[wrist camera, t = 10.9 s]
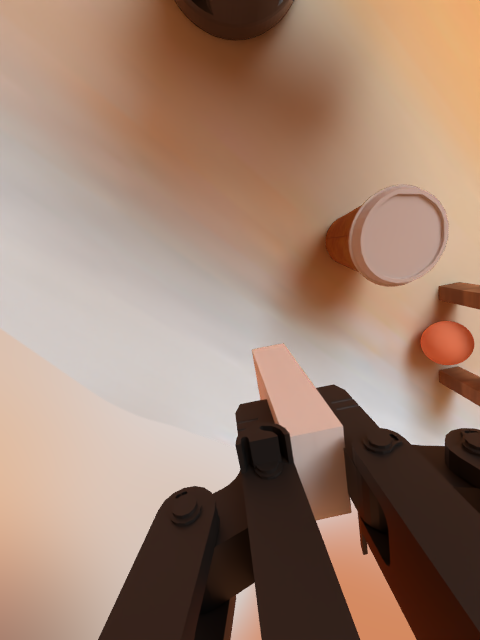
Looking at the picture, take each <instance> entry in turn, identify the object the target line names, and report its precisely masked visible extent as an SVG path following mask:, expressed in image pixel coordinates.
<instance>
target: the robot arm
mask: <svg viewBox="0 0 480 640" xmlns="http://www.w3.org/2000/svg"><path fill="white" fill-rule="evenodd" d="M175 1H176V3H177V4H178V6H179V7H180V9H181V10H182V11H183V12H184V14H185V15H186V16H187V17H188V18H189V19H190V20H191V21H192V22H193V23H194V24H196V25H197V26H198V27H200V28H201V29H203V30H204V31H206V32H208V33H210V34H212V35H214V36H217V37H220V38H224V39H230V40H243V39H249V38H252V37H256V36H258V35H260V34H262V33H264V32H266V31H268V30H269V29H271V28H272V27H273V26H274V25H275V24H277V23H278V22H279V21H280V20H281V19H282V17H283V16H284V15H285V14H286V12H287V11H288V9H289V8H290V6H291V4H292V2H293V1H294V0H175ZM252 353H253V359H254V364H255V370H256V376H257V382H258V388H259V393H260V399H261V400H259V401H254V402H249V403H244V404H240V405H239V407H238V409H237V411H236V413H235V414H236V422H237V430H238V437H237V440H236V450H237V454H238V459H239V464H240V472H239V474H238V476H237V477H236V479H235V480H234V481H233V482H231V483H230V484H229V485H228V486H226V487H225V488H223V489H222V490H219V491H218V492H215V493H213V494H212V493H211V492H210V491H208V490H207V489H205V488H203V487H197V486H193V487H187V488H183V489H181V490H179V491H177V492H175V493H173V494H172V495H171V496H170V497H169V498H168V499H166V500H165V501H164V503H163V504H162V506H161V507H160V509H159V510H158V512H157V514H156V516H155V519H154V521H153V523H152V525H151V527H150V529H149V532H148V534H147V536H146V538H145V541H144V543H143V544H142V547H141V549H140V551H139V553H138V555H137V557H136V559H135V562H134V564H133V566H132V568H131V570H130V572H129V574H128V577H127V579H126V581H125V583H124V585H123V588H122V589H121V592H120V594H119V596H118V598H117V600H116V603H115V605H114V607H113V609H112V611H111V613H110V615H109V617H108V620H107V622H106V624H105V626H104V628H103V630H102V633H101V635H100V637H99V639H98V640H230V638H231V631H232V624H233V616H234V608H235V602H236V594H238V593H239V592H241V591H242V590H244V589H245V588H247V587H248V586H250V585H251V584H253V583H254V582H255V588H256V596H257V605H258V612H259V621H260V628H261V637H262V640H360V638H359V635H358V632H357V630H356V627H355V624H354V622H353V619H352V617H351V614H350V611H349V608H348V606H347V603H346V600H345V598H344V595H343V593H342V590H341V587H340V584H339V582H338V579H337V576H336V574H335V571H334V568H333V566H332V563H331V560H330V558H329V555H328V552H327V550H326V547H325V544H324V541H323V539H322V536H321V533H320V531H319V528H318V526H317V523H316V520H320V519H324V518H329V517H334V516H338V515H342V514H348V513H351V504H350V498H351V500H352V501H353V503H354V505H355V507H356V509H357V511H358V519H359V529H360V541H361V548H362V551H363V554H364V555H365V554H368V552H367V544H368V545H369V547H370V549H371V551H372V553H373V555H374V557H375V559H376V561H377V563H378V565H379V567H380V569H381V571H382V573H383V575H384V577H385V579H386V581H387V583H388V584H389V586H390V588H391V590H392V592H393V594H394V596H395V598H396V600H397V602H398V604H399V606H400V607H401V610H402V612H403V614H404V615H405V618H406V619H407V621H408V623H409V625H410V627H411V629H412V631H413V633H414V635H415V637H416V639H417V640H480V430H478V429H468V428H461V429H457V430H453V431H451V432H449V433H448V434H447V435H446V438H445V446H420V445H411V444H410V443H409V442H408V441H407V440H406V439H405V438H404V437H402V436H401V435H399V434H398V433H396V432H393V431H391V430H388V429H383V428H379V427H378V426H377V424H376V423H375V422H374V421H373V420H372V419H371V418H370V417H369V416H368V415H367V414H366V412H365V411H364V410H363V409H362V408H361V407H360V406H358V404H357V403H356V402H355V400H354V399H352V397H351V396H350V395H349V394H348V393H347V392H346V391H345V390H344V389H342V388H340V387H338V386H335V385H329V386H324V387H319V388H315V386H314V385H313V384H312V382H311V381H310V379H309V378H308V377H307V375H306V374H305V373H304V371H303V370H302V368H301V367H300V366H299V364H298V363H297V361H296V360H295V359H294V357H293V356H292V354H291V353H290V352H289V350H288V349H287V347H286V346H285V345H284V343H283V344H278V345H272V346H267V347H262V348H257V349H252Z"/></svg>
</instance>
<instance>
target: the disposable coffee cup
mask: <svg viewBox="0 0 480 640" xmlns="http://www.w3.org/2000/svg"><path fill="white" fill-rule="evenodd" d="M448 231H449V223H448V219H447V215H446V211H445V209H444V207H443V206H442V204H441V203H440V201H439V200H438V199H437V198H436V197H435V196H434V195H432V194H431V193H429V192H427V191H425V190H422V189H420V188H418V187H415V186H411V185H394V186H390V187H387V188H384V189H382V190H380V191H378V192H377V193H375V194H374V195H372V196H371V197H370V198H369V199H368V200H367V201H366V202H365V203H364V204H363V205H361V206H360V207H358V208H356V209H354V210H353V211H351V212H349V213H348V214H346V215H344V216H342V217H340V218H339V219H337V220H336V221H335V222H334V223H333V224H332V225H331V226H330V228H329V230H328V232H327V235H326V249H327V252H328V254H329V255H330V257H331V258H332V259H333V260H335V261H336V262H338V263H340V264H343V265H345V266H347V267H349V268H351V269H353V270H356V271H358V272H359V273H360V274H361V275H363V276H364V277H365V278H366V279H367V280H369V281H371V282H373V283H375V284H378V285H382V286H400V285H404V284H406V283H409V282H411V281H413V280H415V279H418V278H420V277H422V276H423V275H425V274H426V273H428V272H429V271H430V270H431V269H432V268H433V267H434V266H435V265H436V263H437V262H438V261H439V259H440V258H441V256H442V254H443V252H444V250H445V247H446V244H447V240H448Z"/></svg>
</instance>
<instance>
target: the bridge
mask: <svg viewBox="0 0 480 640" xmlns="http://www.w3.org/2000/svg"><path fill="white" fill-rule="evenodd" d="M439 300H442V301H446V302H450V303H454V304H459V305H463V306H467V307H472V308H476V309H480V285H475V284H468V283H461V282H459V283H453V284H448V285H443V286H439ZM439 382H440V383H442V384H443V385H445V386H447V387H448V388H450V389H452V390H453V391H455V392H457V393H458V394H460V395H462V396H463V397H465V398H467V399H468V400H470V401H472V402H473V403H475V404H477V405H478V406H480V377H479V376H477V375H475V374H473V373H471V372H469V371H467V370H464V369H462V368H460V367H453V368H448V369H443V370H439Z"/></svg>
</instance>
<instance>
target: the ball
mask: <svg viewBox="0 0 480 640" xmlns="http://www.w3.org/2000/svg"><path fill="white" fill-rule="evenodd" d="M421 348H422V350H423V352H424V354H425V355H426V356H427V357H428V358H429V359H431V360H432V361H434V362H436V363H439V364H443V365H454V364H458V363H461V362H463V361H465V360H466V359H467V358H468V357H469V356H470V355H471V353H472V352H473V349H474V339H473V336H472V334H471V333H470V331H469V330H468V329H467V328H466V327H464V326H463V325H461V324H459V323H456V322H452V321H441V322H437V323H434V324H432V325H430V326H429V327H428V328H427V329H426V330H425V331H424V332H423V334H422V337H421Z"/></svg>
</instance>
